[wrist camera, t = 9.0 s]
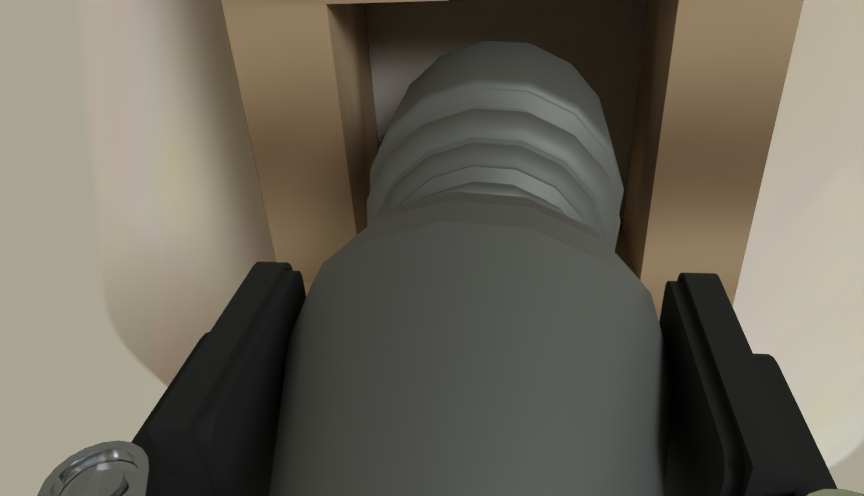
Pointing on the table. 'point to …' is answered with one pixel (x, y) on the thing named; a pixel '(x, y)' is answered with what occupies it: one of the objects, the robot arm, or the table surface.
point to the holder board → (651, 147)
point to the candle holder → (481, 306)
